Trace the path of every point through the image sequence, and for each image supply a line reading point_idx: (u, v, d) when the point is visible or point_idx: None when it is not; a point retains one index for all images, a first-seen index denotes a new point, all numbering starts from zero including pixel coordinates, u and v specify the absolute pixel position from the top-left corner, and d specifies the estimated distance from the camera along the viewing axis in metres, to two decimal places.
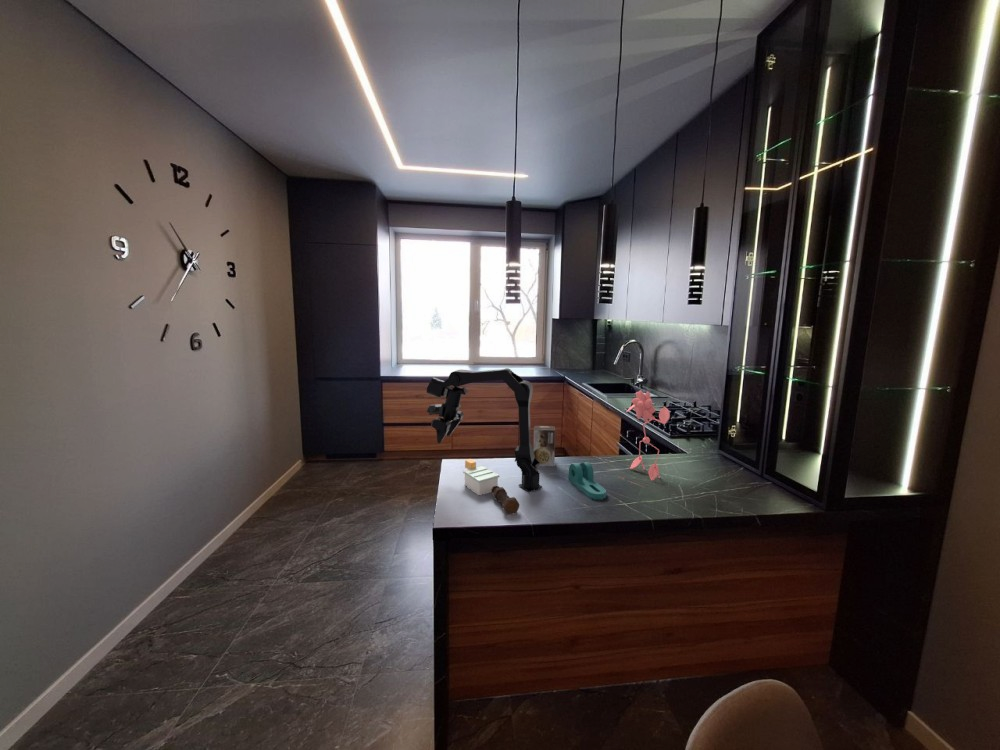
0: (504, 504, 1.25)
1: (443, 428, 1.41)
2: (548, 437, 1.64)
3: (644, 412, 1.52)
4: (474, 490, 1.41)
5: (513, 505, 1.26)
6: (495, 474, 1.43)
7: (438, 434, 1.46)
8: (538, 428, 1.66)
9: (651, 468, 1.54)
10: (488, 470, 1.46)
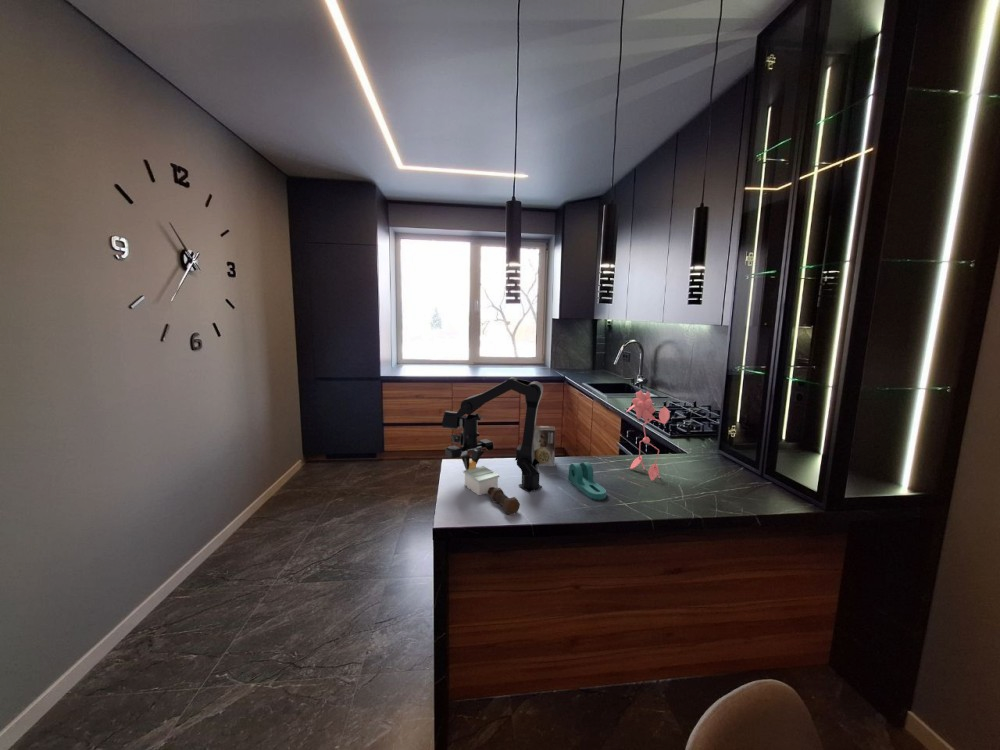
0: (505, 505, 1.25)
1: (450, 455, 1.42)
2: (548, 437, 1.64)
3: (644, 412, 1.52)
4: (474, 490, 1.41)
5: (514, 505, 1.26)
6: (495, 474, 1.43)
7: (463, 461, 1.49)
8: (538, 428, 1.66)
9: (651, 468, 1.54)
10: (488, 470, 1.46)
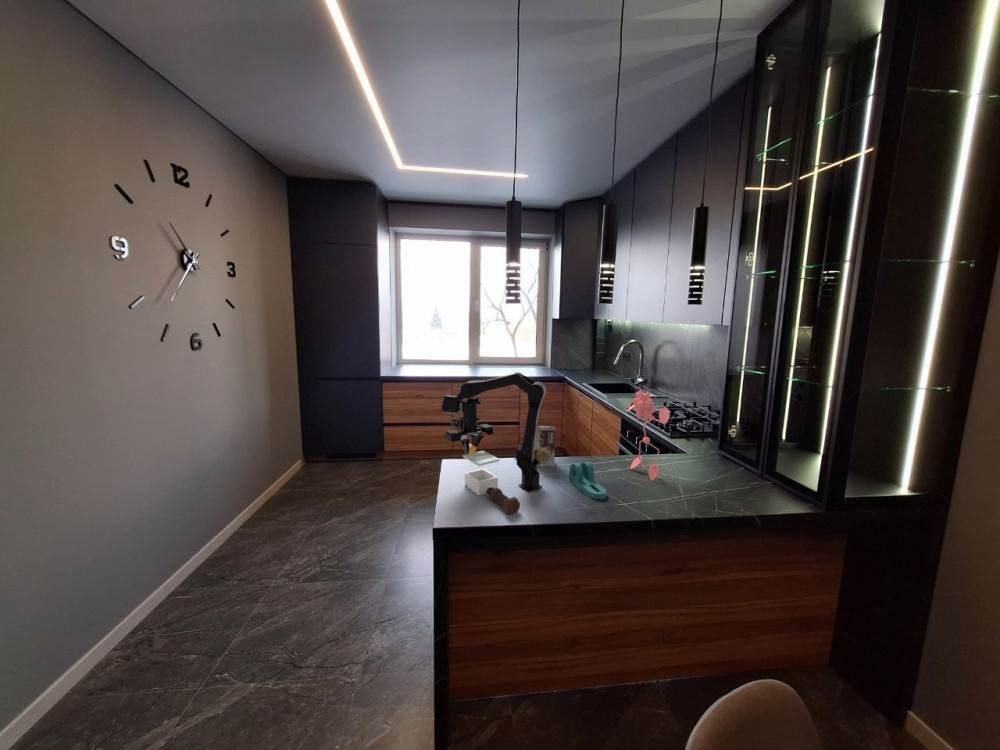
0: (506, 505, 1.25)
1: (450, 439, 1.41)
2: (548, 437, 1.64)
3: (644, 412, 1.52)
4: (474, 490, 1.41)
5: (514, 505, 1.26)
6: (495, 458, 1.42)
7: (463, 445, 1.48)
8: (538, 428, 1.66)
9: (651, 468, 1.54)
10: (488, 454, 1.45)
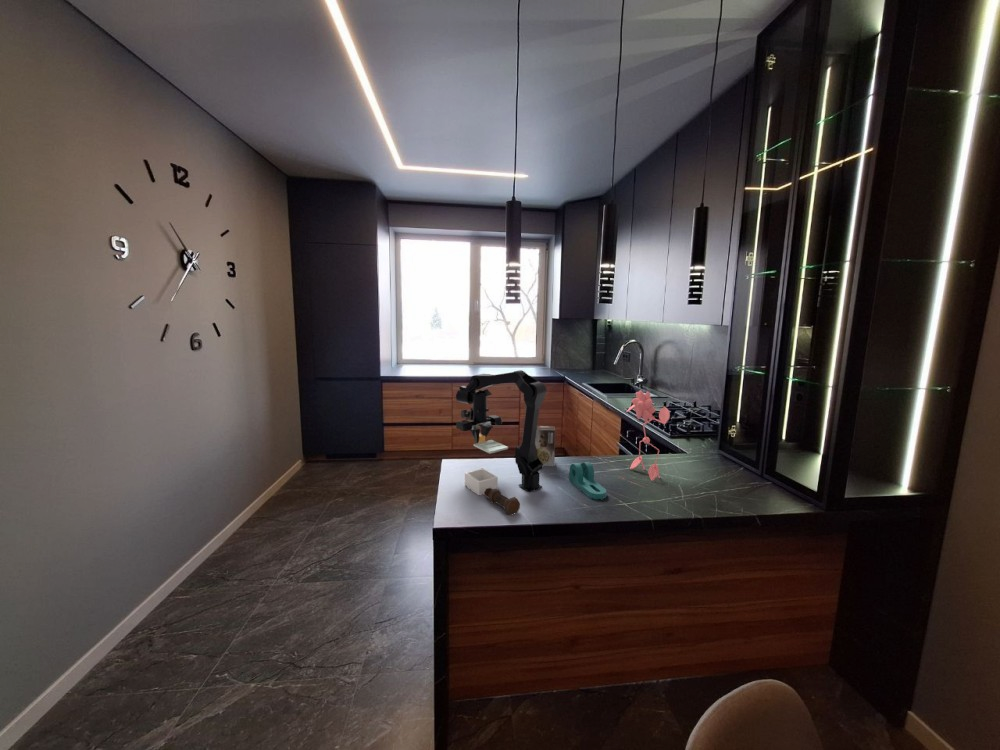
0: (506, 505, 1.25)
1: (462, 429, 1.50)
2: (548, 437, 1.64)
3: (644, 412, 1.52)
4: (474, 490, 1.41)
5: (514, 505, 1.26)
6: (504, 446, 1.50)
7: (473, 435, 1.56)
8: (538, 428, 1.66)
9: (651, 468, 1.54)
10: (497, 443, 1.54)
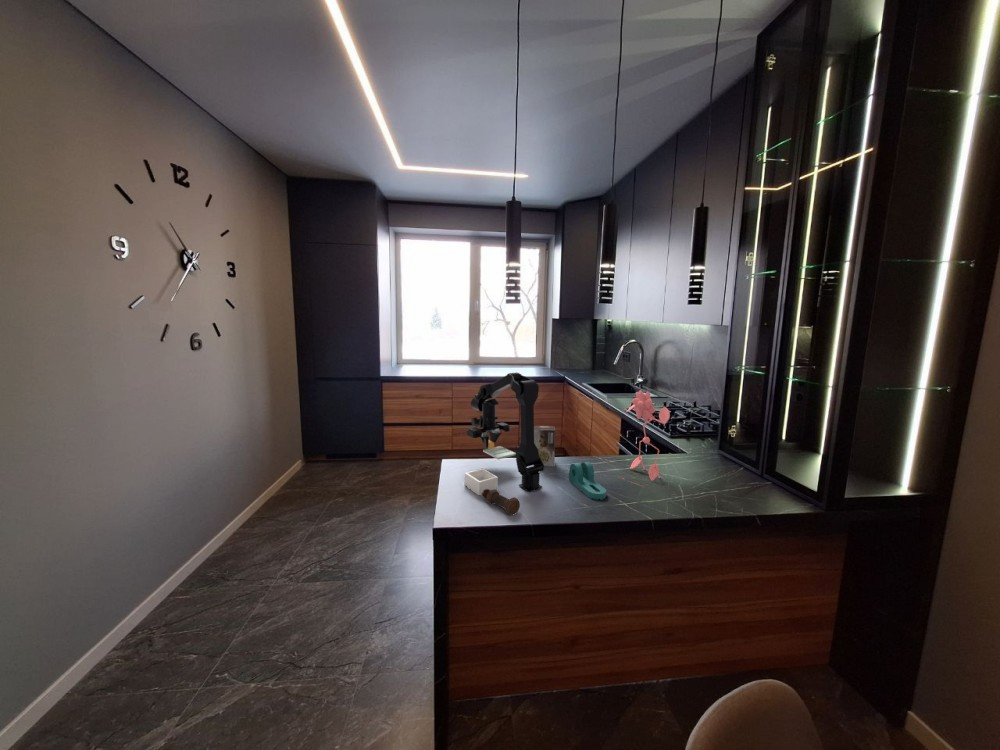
0: (507, 506, 1.24)
1: (472, 436, 1.59)
2: (548, 437, 1.64)
3: (644, 412, 1.52)
4: (474, 490, 1.41)
5: (515, 505, 1.26)
6: (512, 452, 1.59)
7: (483, 441, 1.66)
8: (538, 428, 1.66)
9: (651, 468, 1.54)
10: (505, 449, 1.63)
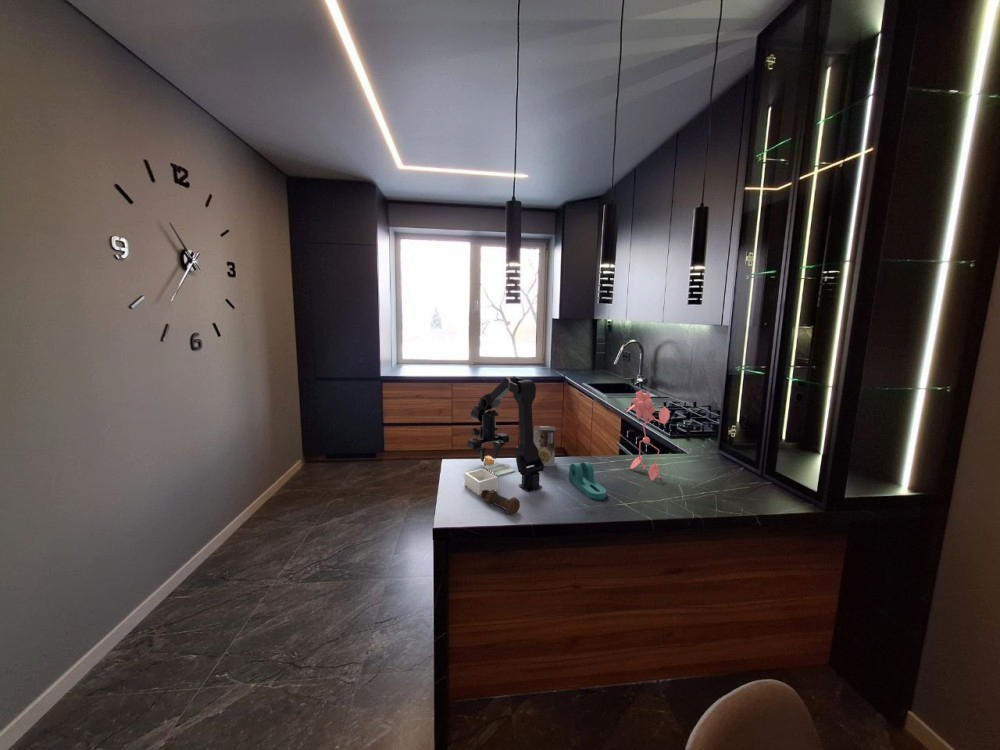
0: (508, 506, 1.24)
1: (472, 447, 1.60)
2: (548, 437, 1.64)
3: (644, 412, 1.52)
4: (474, 490, 1.41)
5: (515, 505, 1.26)
6: (511, 469, 1.61)
7: (479, 453, 1.65)
8: (538, 428, 1.66)
9: (651, 468, 1.54)
10: (505, 466, 1.64)
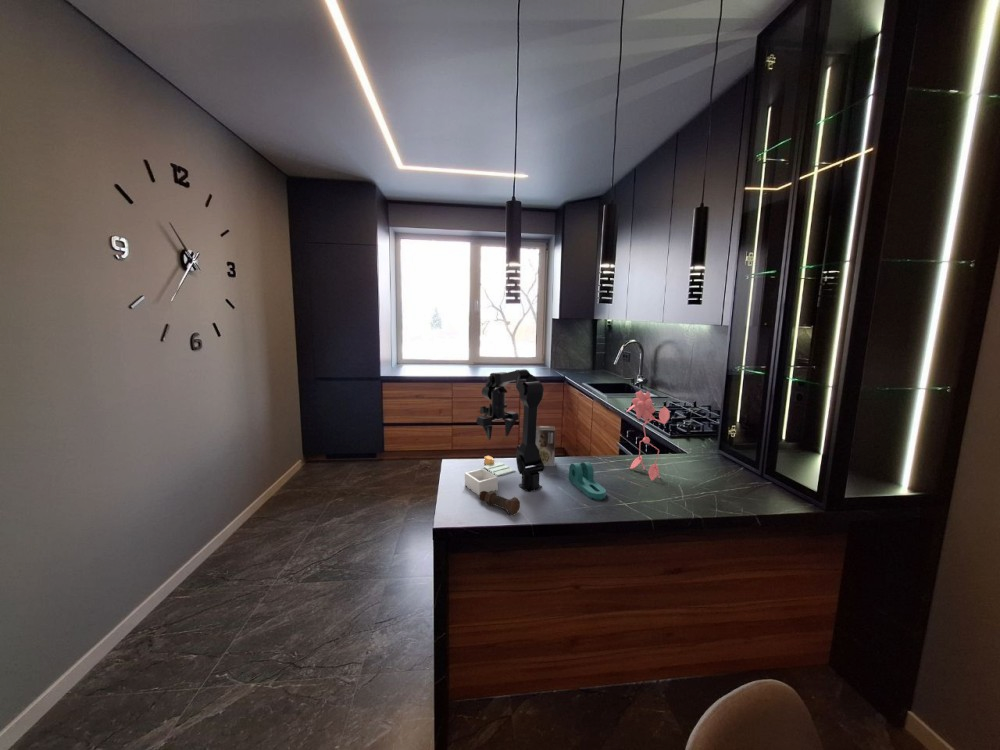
0: (509, 506, 1.24)
1: (482, 424, 1.58)
2: (548, 437, 1.64)
3: (644, 412, 1.52)
4: (474, 490, 1.41)
5: (516, 505, 1.26)
6: (511, 469, 1.61)
7: (486, 431, 1.63)
8: (538, 428, 1.66)
9: (651, 468, 1.54)
10: (505, 466, 1.64)
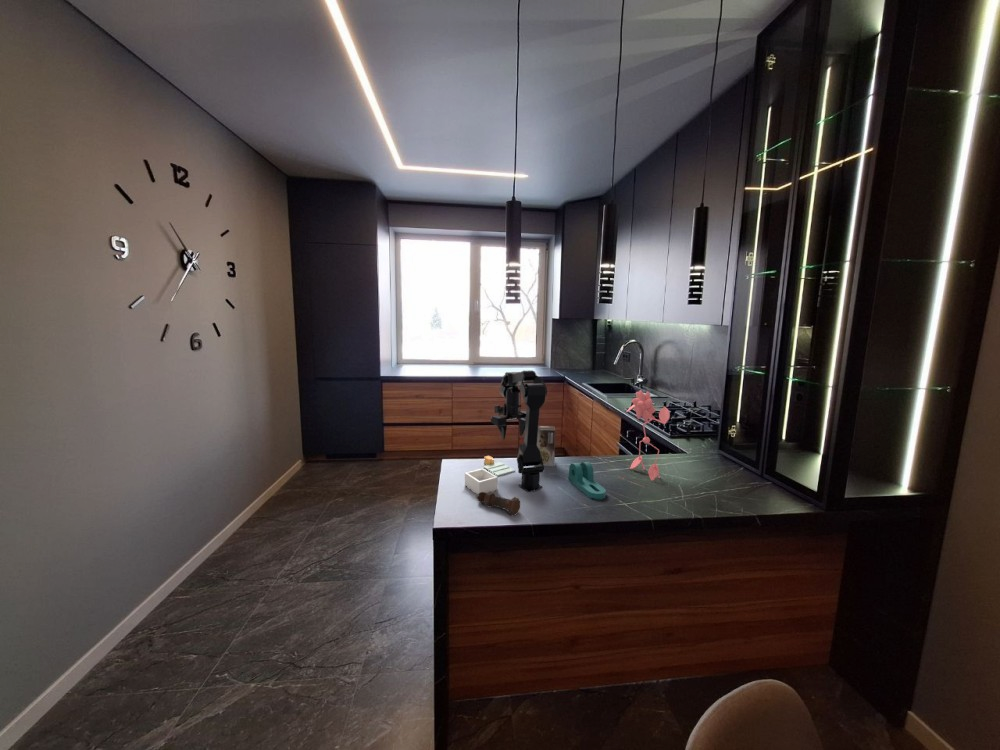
0: (510, 506, 1.24)
1: (497, 423, 1.58)
2: (548, 437, 1.64)
3: (644, 412, 1.52)
4: (474, 490, 1.41)
5: (516, 505, 1.26)
6: (511, 469, 1.61)
7: (500, 431, 1.63)
8: (538, 428, 1.66)
9: (651, 468, 1.54)
10: (505, 466, 1.64)
